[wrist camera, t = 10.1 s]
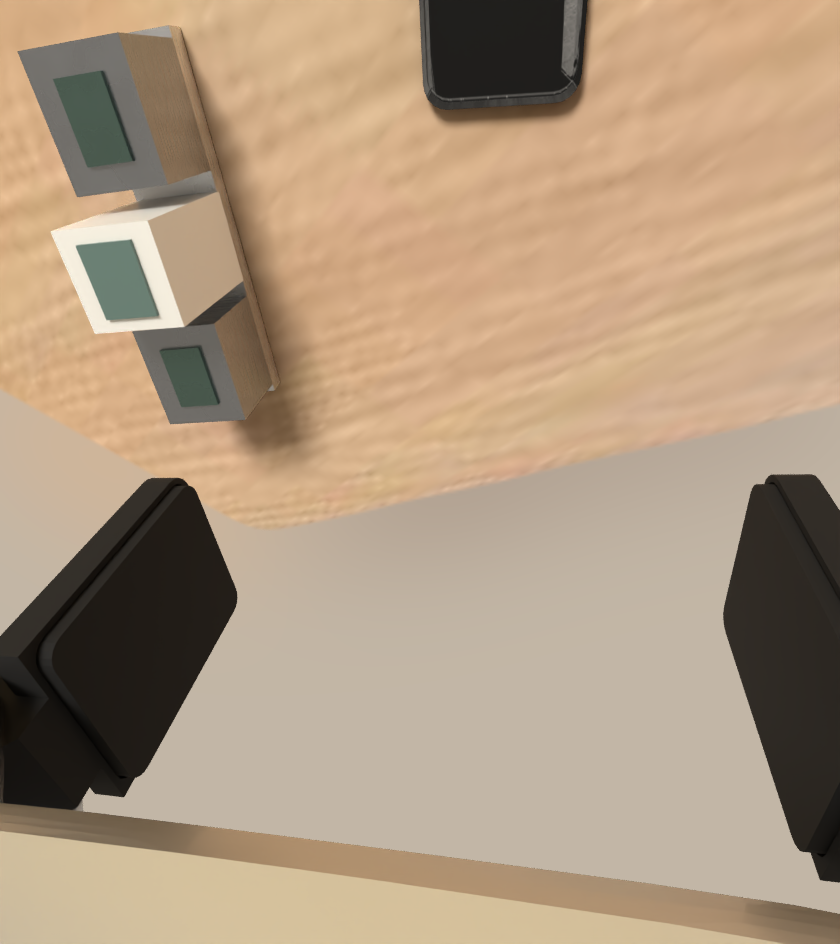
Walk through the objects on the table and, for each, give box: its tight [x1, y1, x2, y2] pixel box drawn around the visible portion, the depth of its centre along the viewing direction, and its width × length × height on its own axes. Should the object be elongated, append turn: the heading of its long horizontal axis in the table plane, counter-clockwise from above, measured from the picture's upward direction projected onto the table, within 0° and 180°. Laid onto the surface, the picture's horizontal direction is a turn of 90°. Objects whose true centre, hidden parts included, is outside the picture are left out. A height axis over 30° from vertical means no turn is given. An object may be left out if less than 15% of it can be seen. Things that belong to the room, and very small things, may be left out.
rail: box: [18, 25, 280, 424], centre depth 34 cm, size 5×20×6 cm, turn 7°
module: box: [51, 191, 243, 334], centre depth 32 cm, size 5×5×8 cm
